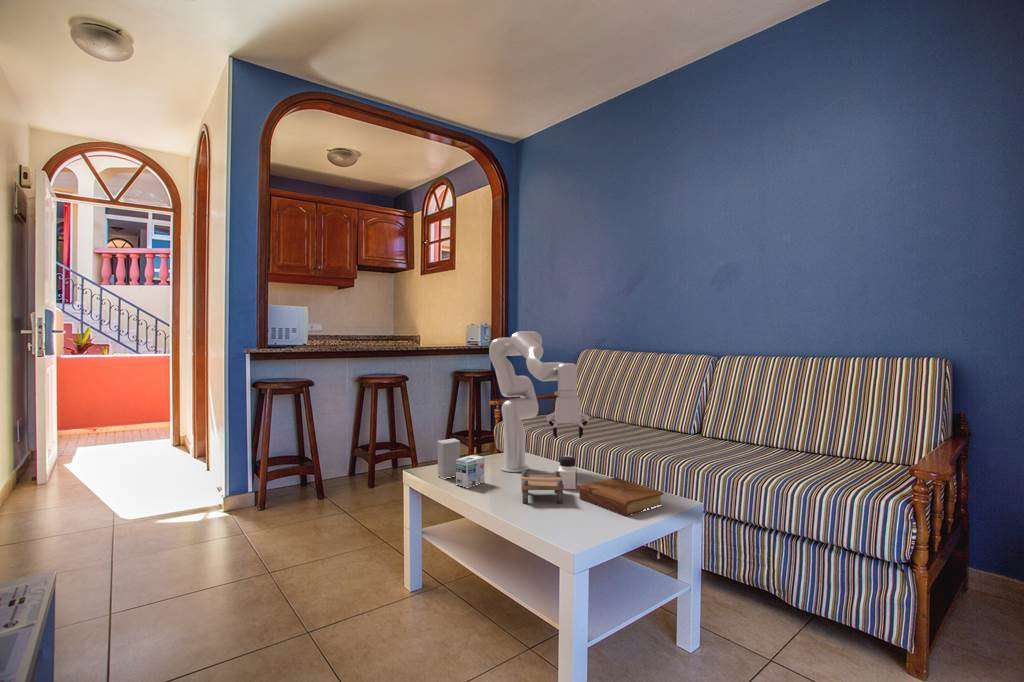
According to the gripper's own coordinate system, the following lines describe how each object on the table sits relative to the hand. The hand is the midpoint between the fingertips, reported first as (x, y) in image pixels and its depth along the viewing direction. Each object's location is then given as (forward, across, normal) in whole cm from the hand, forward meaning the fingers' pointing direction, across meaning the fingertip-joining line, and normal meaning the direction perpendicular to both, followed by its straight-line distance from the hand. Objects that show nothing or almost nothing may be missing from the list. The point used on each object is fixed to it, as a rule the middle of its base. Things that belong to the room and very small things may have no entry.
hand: (568, 437), depth 209 cm
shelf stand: (+20, -11, -14) cm, 27 cm away
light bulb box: (+20, -39, +4) cm, 44 cm away
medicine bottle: (+20, 0, 0) cm, 20 cm away
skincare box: (+19, -49, +16) cm, 55 cm away
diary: (+21, +17, -19) cm, 33 cm away
